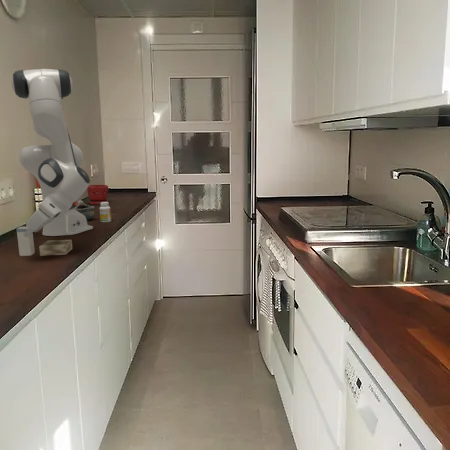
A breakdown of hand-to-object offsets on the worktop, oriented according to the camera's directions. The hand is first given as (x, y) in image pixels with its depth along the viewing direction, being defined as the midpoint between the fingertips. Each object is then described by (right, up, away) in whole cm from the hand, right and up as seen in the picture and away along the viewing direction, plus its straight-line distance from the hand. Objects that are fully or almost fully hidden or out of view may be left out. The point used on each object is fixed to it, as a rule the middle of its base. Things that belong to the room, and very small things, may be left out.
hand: (30, 233), depth 164 cm
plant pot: (-11, +17, +131) cm, 132 cm away
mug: (-2, +5, +70) cm, 70 cm away
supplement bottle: (+11, +5, +64) cm, 65 cm away
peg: (-2, -8, +2) cm, 8 cm away
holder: (+8, -7, +4) cm, 11 cm away
